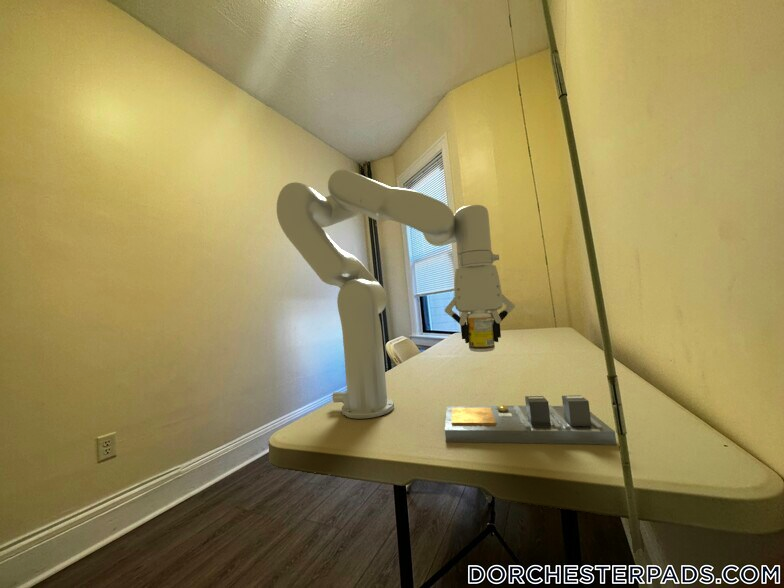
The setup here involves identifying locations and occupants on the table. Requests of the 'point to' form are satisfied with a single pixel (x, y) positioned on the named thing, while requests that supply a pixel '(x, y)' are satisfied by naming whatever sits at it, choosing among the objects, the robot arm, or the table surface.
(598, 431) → the panel
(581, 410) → the block
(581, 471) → the table surface
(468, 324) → the supplement bottle
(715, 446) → the table surface
